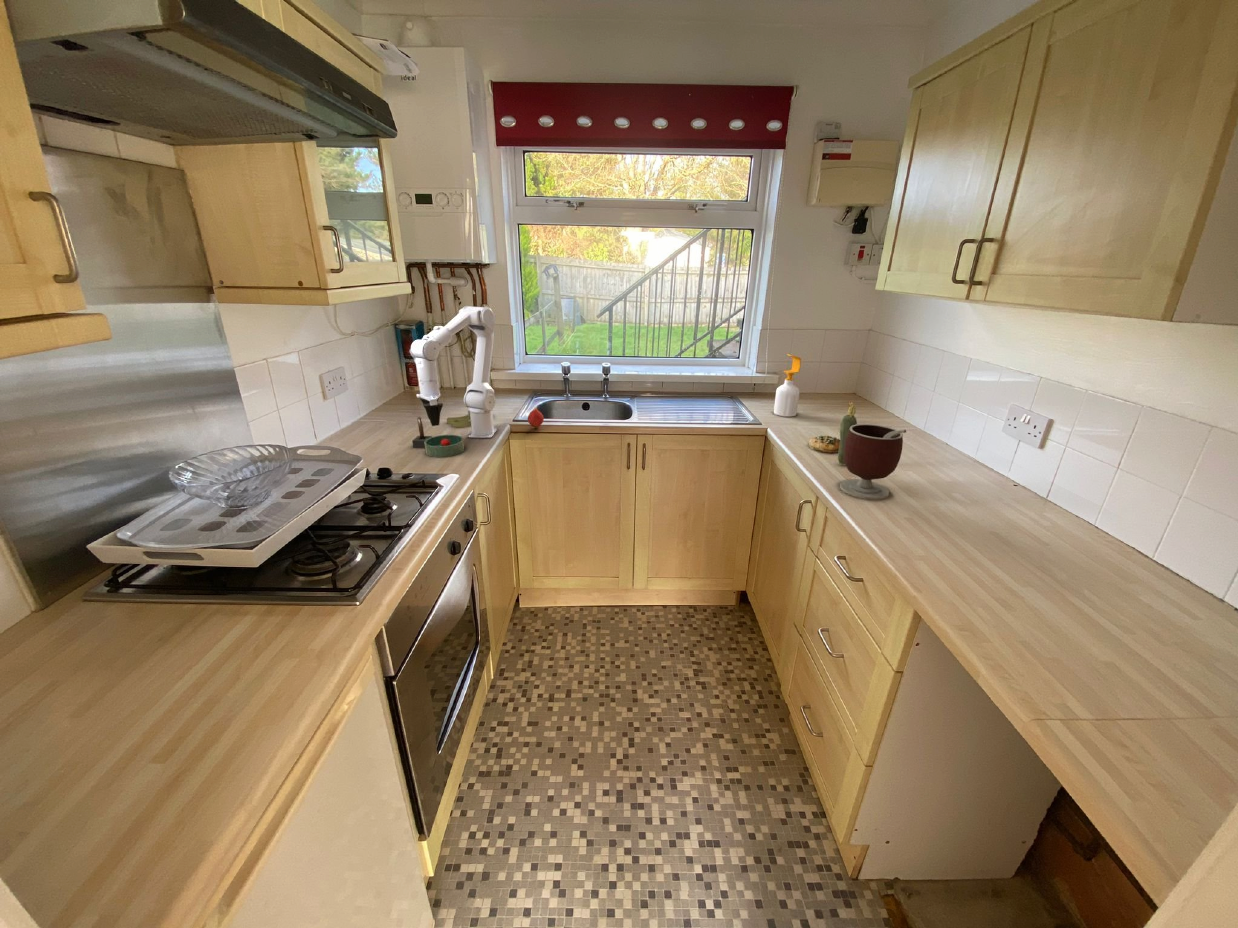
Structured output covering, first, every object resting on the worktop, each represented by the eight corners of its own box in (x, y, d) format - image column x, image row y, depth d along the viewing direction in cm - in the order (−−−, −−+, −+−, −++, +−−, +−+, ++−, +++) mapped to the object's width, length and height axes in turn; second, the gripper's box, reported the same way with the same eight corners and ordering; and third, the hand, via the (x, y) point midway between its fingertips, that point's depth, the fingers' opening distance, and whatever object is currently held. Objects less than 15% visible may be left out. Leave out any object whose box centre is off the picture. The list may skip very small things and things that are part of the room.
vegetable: (850, 468, 155) (862, 405, 148) (835, 467, 156) (846, 404, 148) (846, 463, 159) (858, 401, 152) (832, 462, 160) (843, 400, 152)
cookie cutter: (474, 413, 208) (473, 408, 208) (497, 417, 203) (497, 412, 203) (442, 424, 193) (441, 419, 192) (466, 429, 188) (466, 424, 188)
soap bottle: (768, 412, 213) (776, 353, 204) (785, 410, 217) (793, 352, 208) (783, 418, 206) (792, 357, 197) (801, 415, 209) (809, 355, 200)
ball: (443, 446, 169) (442, 437, 168) (452, 446, 169) (451, 437, 168) (440, 449, 166) (439, 440, 165) (449, 449, 166) (448, 440, 165)
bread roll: (846, 445, 174) (847, 432, 171) (838, 459, 166) (839, 445, 163) (812, 441, 180) (813, 428, 177) (803, 453, 172) (804, 440, 169)
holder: (418, 442, 174) (417, 435, 173) (433, 443, 174) (432, 436, 173) (413, 447, 169) (412, 440, 168) (428, 447, 169) (427, 440, 168)
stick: (422, 444, 172) (418, 416, 168) (426, 444, 172) (422, 416, 168) (420, 446, 171) (416, 417, 167) (424, 446, 171) (420, 417, 167)
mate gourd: (825, 483, 144) (837, 416, 137) (863, 477, 149) (877, 411, 141) (868, 506, 131) (884, 432, 123) (908, 498, 135) (926, 427, 128)
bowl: (433, 444, 172) (431, 434, 171) (468, 444, 172) (467, 435, 171) (420, 457, 161) (418, 446, 160) (458, 457, 161) (456, 446, 160)
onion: (525, 429, 189) (523, 408, 186) (534, 425, 194) (533, 404, 191) (537, 431, 186) (536, 410, 183) (547, 427, 191) (546, 406, 188)
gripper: (412, 376, 161) (418, 417, 166) (416, 385, 149) (423, 430, 154) (435, 374, 164) (440, 415, 169) (442, 383, 151) (447, 427, 157)
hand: (433, 422), depth 161 cm, fingers open, 7 cm apart
